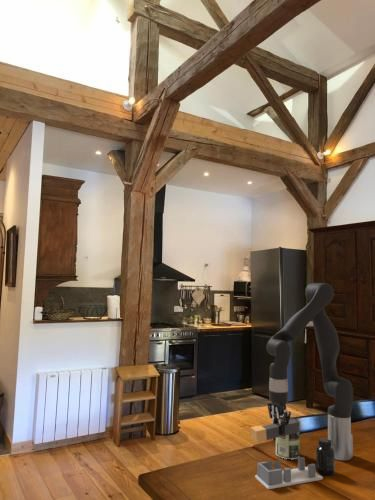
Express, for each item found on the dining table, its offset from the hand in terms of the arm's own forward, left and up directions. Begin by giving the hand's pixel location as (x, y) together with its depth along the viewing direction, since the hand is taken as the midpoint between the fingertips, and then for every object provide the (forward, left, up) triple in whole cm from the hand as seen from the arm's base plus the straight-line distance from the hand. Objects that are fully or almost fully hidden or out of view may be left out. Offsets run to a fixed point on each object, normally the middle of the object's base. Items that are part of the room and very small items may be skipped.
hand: (278, 432), depth 157 cm
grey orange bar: (+1, 0, -1) cm, 2 cm away
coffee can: (-10, -8, -13) cm, 18 cm away
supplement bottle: (-15, +10, -13) cm, 22 cm away
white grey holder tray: (+2, +10, -13) cm, 16 cm away
